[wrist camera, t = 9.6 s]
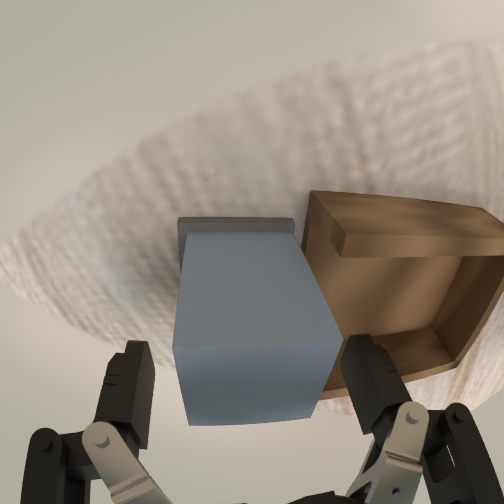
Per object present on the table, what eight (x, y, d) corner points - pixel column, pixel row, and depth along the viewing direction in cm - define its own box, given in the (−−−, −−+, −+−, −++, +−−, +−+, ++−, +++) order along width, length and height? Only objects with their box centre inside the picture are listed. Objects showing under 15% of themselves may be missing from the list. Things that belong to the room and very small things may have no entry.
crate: (482, 208, 16) (525, 240, 12) (430, 329, 21) (456, 367, 18) (310, 190, 14) (346, 233, 10) (283, 348, 20) (297, 403, 16)
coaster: (292, 218, 15) (295, 223, 14) (278, 310, 18) (280, 317, 17) (178, 217, 14) (177, 223, 14) (185, 312, 17) (185, 319, 17)
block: (292, 232, 14) (343, 339, 9) (280, 310, 17) (310, 417, 11) (187, 231, 14) (172, 347, 8) (192, 312, 16) (189, 425, 10)
